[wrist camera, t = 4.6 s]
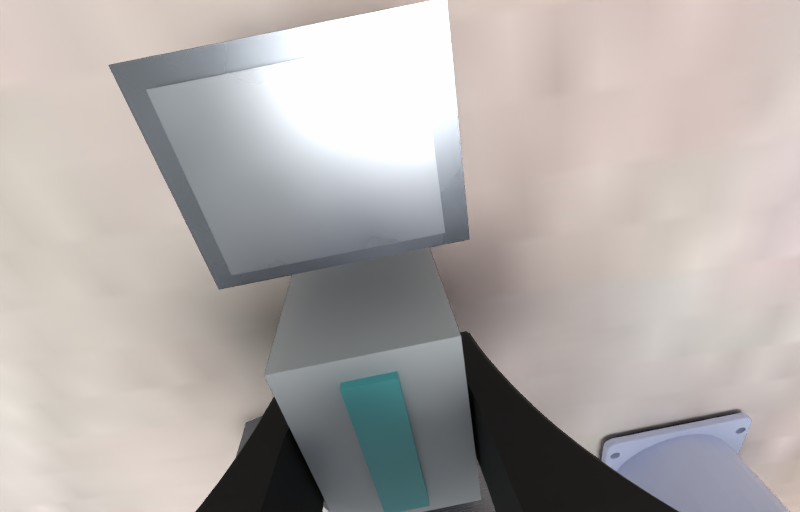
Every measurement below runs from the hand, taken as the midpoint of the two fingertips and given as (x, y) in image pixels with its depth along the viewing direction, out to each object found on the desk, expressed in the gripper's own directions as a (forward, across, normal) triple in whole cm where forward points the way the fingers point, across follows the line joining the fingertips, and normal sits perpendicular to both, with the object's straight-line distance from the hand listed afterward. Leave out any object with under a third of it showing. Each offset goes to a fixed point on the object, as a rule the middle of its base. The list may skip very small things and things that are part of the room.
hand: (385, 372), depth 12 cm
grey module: (+3, 0, 0) cm, 3 cm away
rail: (+4, 0, 0) cm, 4 cm away
